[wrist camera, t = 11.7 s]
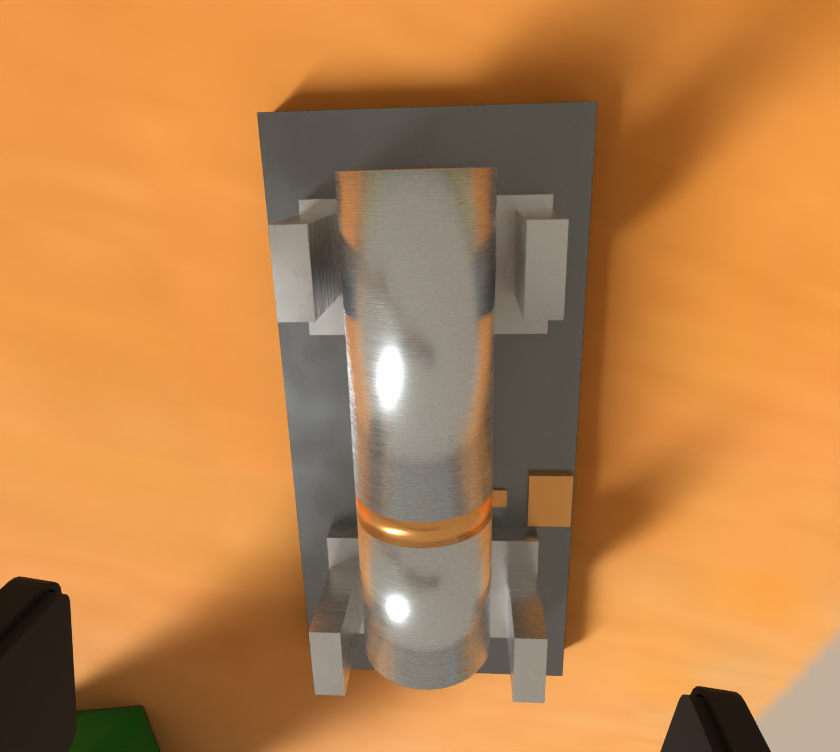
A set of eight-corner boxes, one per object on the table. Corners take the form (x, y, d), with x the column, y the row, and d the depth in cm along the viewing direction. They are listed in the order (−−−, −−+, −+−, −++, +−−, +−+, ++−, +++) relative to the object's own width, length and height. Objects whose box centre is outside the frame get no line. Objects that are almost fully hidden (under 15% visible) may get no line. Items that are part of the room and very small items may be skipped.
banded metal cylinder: (355, 169, 22) (314, 173, 18) (498, 166, 22) (495, 168, 17) (378, 595, 28) (352, 683, 23) (491, 603, 27) (488, 694, 23)
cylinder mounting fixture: (269, 115, 24) (201, 100, 18) (589, 104, 23) (633, 84, 17) (319, 645, 32) (284, 759, 26) (558, 652, 31) (580, 772, 25)
